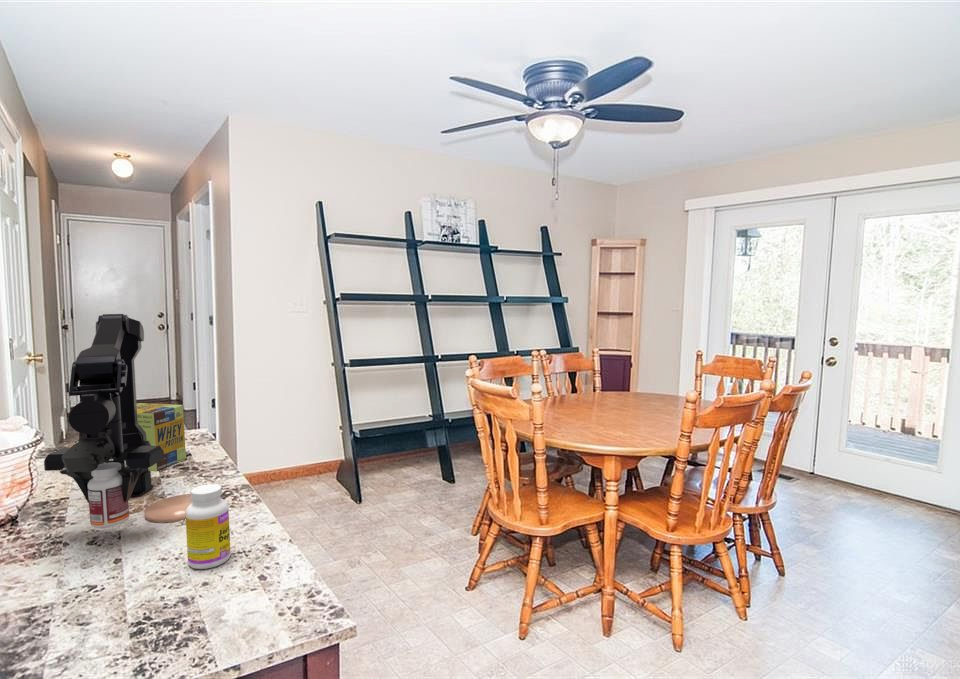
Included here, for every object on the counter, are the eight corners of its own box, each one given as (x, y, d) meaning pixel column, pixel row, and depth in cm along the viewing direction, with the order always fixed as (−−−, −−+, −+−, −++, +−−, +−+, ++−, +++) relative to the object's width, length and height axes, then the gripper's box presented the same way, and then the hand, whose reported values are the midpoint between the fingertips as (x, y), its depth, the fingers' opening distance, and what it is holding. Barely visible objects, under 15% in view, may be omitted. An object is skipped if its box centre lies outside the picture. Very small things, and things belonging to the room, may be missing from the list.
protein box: (157, 471, 140) (153, 413, 139) (108, 467, 144) (104, 410, 142) (187, 459, 150) (184, 404, 149) (141, 456, 154) (137, 402, 152)
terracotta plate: (131, 523, 109) (130, 519, 109) (164, 498, 122) (164, 494, 122) (197, 521, 110) (197, 516, 109) (223, 497, 122) (223, 492, 122)
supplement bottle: (224, 569, 91) (220, 494, 90) (182, 572, 90) (177, 497, 89) (235, 550, 97) (232, 480, 96) (196, 553, 96) (192, 483, 95)
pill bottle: (131, 513, 107) (128, 459, 106) (127, 525, 102) (123, 468, 101) (93, 519, 104) (90, 463, 103) (87, 532, 99) (83, 473, 98)
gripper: (16, 433, 93) (24, 521, 94) (129, 431, 94) (135, 518, 95) (62, 418, 104) (69, 496, 105) (163, 416, 105) (167, 494, 106)
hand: (108, 501), depth 103 cm, fingers closed on pill bottle, 6 cm apart
